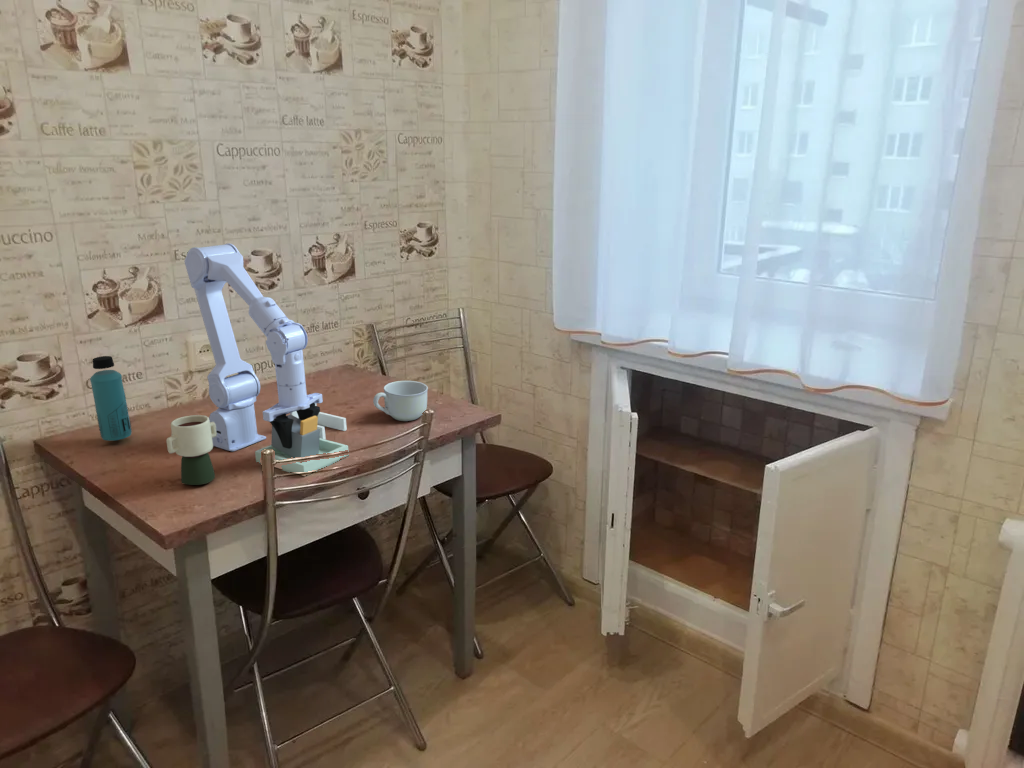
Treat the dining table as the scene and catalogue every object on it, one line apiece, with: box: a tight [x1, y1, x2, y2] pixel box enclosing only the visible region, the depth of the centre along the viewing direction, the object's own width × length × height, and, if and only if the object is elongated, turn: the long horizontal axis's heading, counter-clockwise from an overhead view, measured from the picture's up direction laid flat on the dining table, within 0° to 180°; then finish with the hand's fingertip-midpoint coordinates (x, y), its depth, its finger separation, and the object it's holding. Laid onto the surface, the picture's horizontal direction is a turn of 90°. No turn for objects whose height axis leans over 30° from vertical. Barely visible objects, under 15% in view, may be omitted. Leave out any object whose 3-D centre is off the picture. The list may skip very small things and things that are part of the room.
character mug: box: [166, 414, 217, 486], centre depth 145 cm, size 11×7×13 cm, turn 150°
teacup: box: [372, 380, 429, 422], centre depth 181 cm, size 14×11×8 cm
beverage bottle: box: [89, 355, 133, 442], centre depth 165 cm, size 6×7×20 cm
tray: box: [254, 438, 350, 473], centre depth 157 cm, size 13×15×2 cm
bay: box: [289, 403, 347, 440], centre depth 173 cm, size 8×10×6 cm
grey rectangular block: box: [270, 413, 320, 458], centre depth 156 cm, size 5×9×9 cm, turn 58°
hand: (297, 443), depth 157 cm, fingers closed on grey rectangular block, 5 cm apart
